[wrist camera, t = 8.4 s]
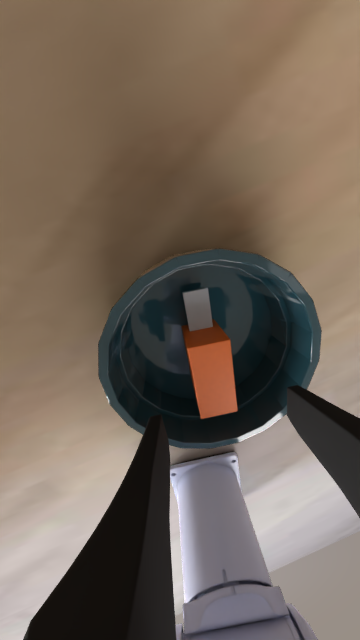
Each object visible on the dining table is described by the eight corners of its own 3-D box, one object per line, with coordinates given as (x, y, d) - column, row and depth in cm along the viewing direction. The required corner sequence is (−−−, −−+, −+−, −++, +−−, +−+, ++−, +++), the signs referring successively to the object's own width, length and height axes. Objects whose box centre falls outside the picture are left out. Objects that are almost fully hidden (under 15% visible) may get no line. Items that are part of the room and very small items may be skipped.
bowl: (277, 384, 20) (314, 426, 15) (140, 413, 19) (133, 466, 15) (276, 234, 15) (330, 225, 10) (93, 270, 14) (59, 279, 10)
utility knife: (222, 378, 18) (238, 411, 14) (192, 384, 18) (200, 419, 14) (209, 283, 15) (225, 293, 11) (174, 290, 15) (178, 303, 11)
